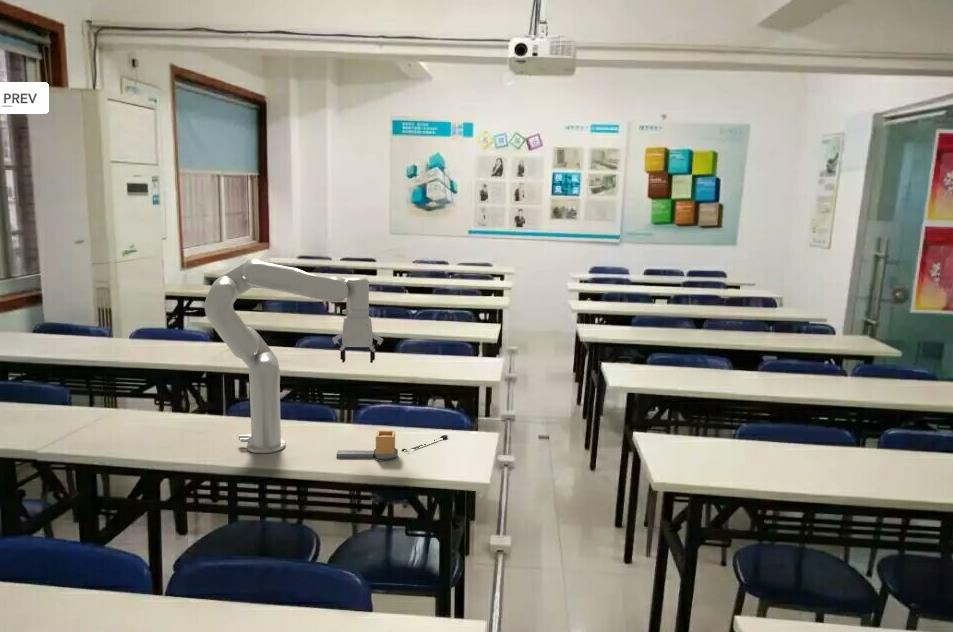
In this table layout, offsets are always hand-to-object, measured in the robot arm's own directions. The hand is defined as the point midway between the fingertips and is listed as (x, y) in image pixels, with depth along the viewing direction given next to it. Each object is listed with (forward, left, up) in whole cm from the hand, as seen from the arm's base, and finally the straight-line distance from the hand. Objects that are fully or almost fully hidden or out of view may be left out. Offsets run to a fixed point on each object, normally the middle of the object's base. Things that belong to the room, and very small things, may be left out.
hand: (357, 361), depth 232 cm
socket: (+11, -16, -26) cm, 33 cm away
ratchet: (+5, -16, -28) cm, 33 cm away
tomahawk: (+25, -6, -29) cm, 39 cm away
